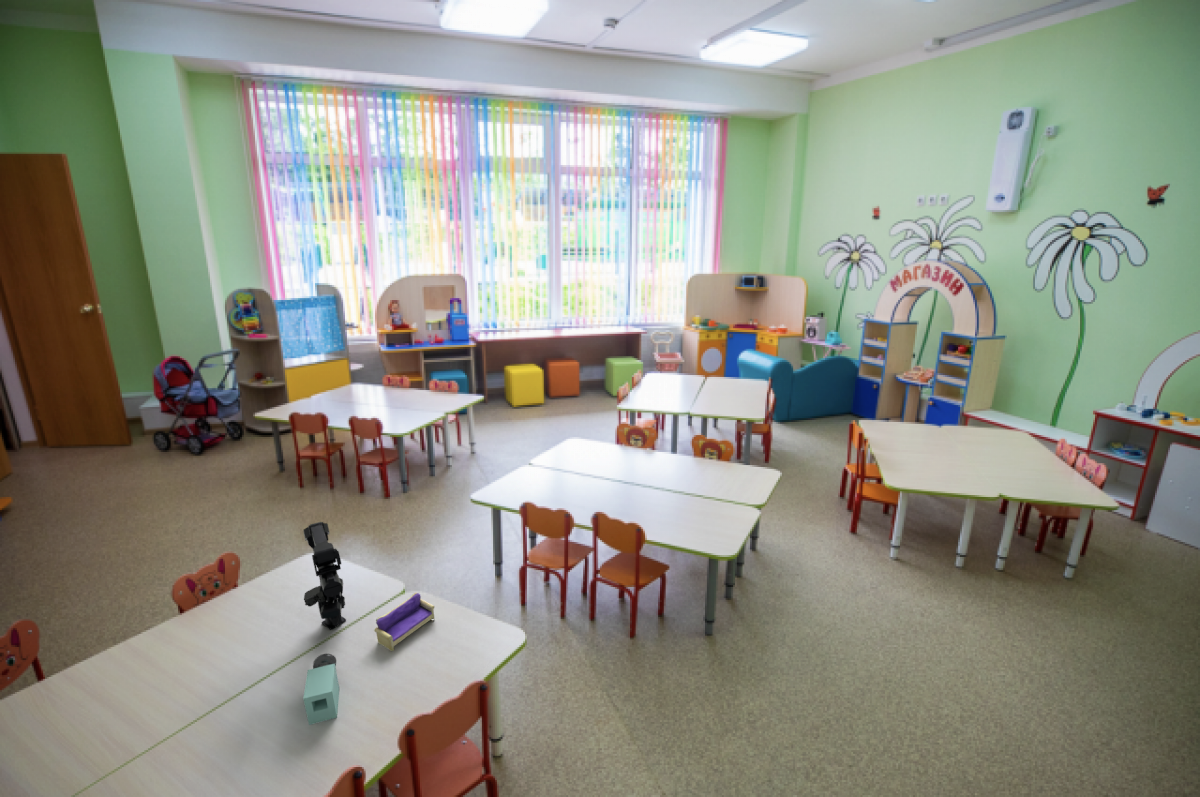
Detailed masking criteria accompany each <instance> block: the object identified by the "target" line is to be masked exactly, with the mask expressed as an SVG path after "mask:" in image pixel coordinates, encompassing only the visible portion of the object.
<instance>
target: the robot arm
mask: <svg viewBox="0 0 1200 797" xmlns="http://www.w3.org/2000/svg"><path fill="white" fill-rule="evenodd" d="M330 534H331V533H330V529H329V524H328V523H327V522H326V523H325V522H324V521H319V522H315V523H310V524H309V525H307V527H305V528H304V529H303V536H304V540H305V541H307V545H308V546H309V547H310V548H311V549H312V551H313V554H312V555H311V557H312V564H313V567H314V572H315V575H316V577H319V579H318V580H319V584H320V585H319V586H314V587H312V588H311V589H309V590H308V591H306V592H305V593H304V595H303V601H304V605H305V606H307V607H309V608H310V607H312V606H315V605H316V604H317V606H318V607H317V608H318V612H319V614H320V615H319V616H320V618H321V619H322V621H321V625H323V626H325V627H326V628H328V630H334V628H336V627H338V626H340V625H341V624H343V623H345V622H346V620H347V618H345V617H344V616H342V609H345V606H346V600H345V599H346V598H345V596H344V595H343V593H344V580H343V578H340V577H339V574H338V571H339V570H341V569H342V568H341V565H342V560H341V556H340V552H339V550H338V549H337V548H336V547H334V545H333V543H332V542H329V536H328V535H330ZM335 563H337V564H335Z"/></svg>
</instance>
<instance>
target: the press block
mask: <svg viewBox="0 0 1200 797" xmlns="http://www.w3.org/2000/svg"><path fill="white" fill-rule="evenodd" d="M304 685H305V687H304V690H303V691H304V692H303V698H302V700H303V704H304V708H305V712H306V713H305V714H306V717H307V722H308V726H310V725H313V724H318V723H323V722H326V721H330V720H333V719H337V718H338V712H339V699H340V684H339V679H338V673H337V668H336V667H335V664H331V665H326V666H322V667H318V668H314V669H313V668H310V669H307V672H306V680H305V684H304Z"/></svg>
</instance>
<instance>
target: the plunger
mask: <svg viewBox="0 0 1200 797" xmlns="http://www.w3.org/2000/svg"><path fill="white" fill-rule="evenodd" d="M312 664H313V665H312V669H314V668H318V667H322V666H326V665H331V664H335V667H336V666H337V658H336V656H335V655H334V654H331V653H322V654H319V655H317V656H316V657H315V658H314V660H313V663H312Z"/></svg>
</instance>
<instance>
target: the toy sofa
mask: <svg viewBox="0 0 1200 797" xmlns="http://www.w3.org/2000/svg"><path fill="white" fill-rule="evenodd" d="M421 597H422V596H421V593H419V592H414V593H413V594H412V595H411V596H409V598H407V599H406V600H404V601H403V602H401V603H400V604H399V605H397V606H396V607H394V608H393V609H391V610H390V611H389V612H387V613H385V614H384V615H381V616H379V617H378V616H377V618H376V620H375V624H376V625H377V627H375V628H374V630H373V631H374V632H375V633H376V639H377V642H378V644H380V645H381V646H383V647H385V648H386V649H387V650H389V651H391V652H394V651H395V646H396V645H398V644H399V643H400V642H402V641H403V640H404V639H406V638H407V637H409V636H410V635H412V633H413V634H414V632H415V631H417V630H418V629H419V628H420V627H421V628H422V626H424V625H425V624H427V623H428V622H429V621H432V620H431V619H434V620H435V614H434V613H435V612H434V610H435V605H433V604H432V603H429V602H428V601H426V600H425V599H422V598H421Z"/></svg>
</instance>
